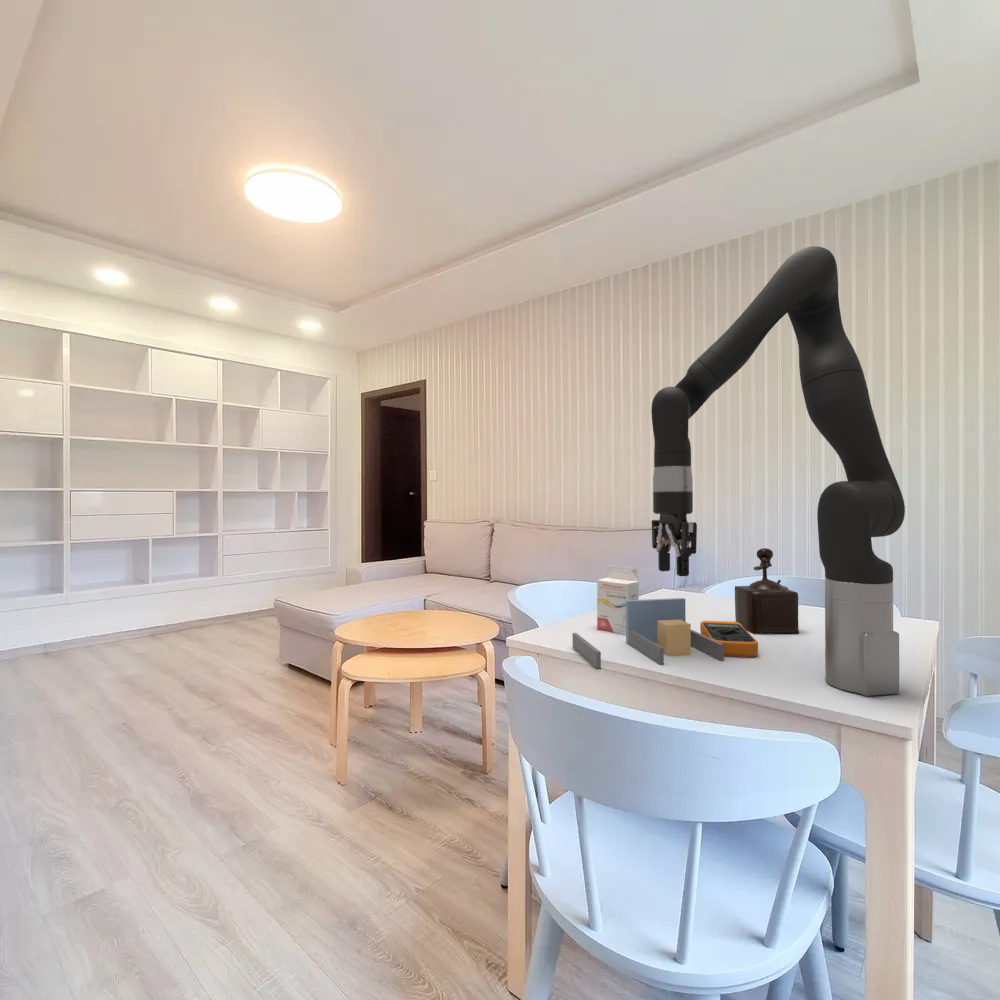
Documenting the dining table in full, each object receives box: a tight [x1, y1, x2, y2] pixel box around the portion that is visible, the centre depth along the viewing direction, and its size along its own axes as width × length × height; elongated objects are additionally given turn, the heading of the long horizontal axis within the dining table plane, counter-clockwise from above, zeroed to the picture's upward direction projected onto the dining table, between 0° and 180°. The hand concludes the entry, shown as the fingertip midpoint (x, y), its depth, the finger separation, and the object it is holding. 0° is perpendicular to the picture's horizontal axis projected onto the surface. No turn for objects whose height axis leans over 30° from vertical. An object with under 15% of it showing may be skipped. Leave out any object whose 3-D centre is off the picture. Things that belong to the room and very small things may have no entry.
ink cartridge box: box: [596, 564, 640, 636], centre depth 125 cm, size 9×5×15 cm, turn 47°
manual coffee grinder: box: [734, 547, 800, 635], centre depth 128 cm, size 16×11×18 cm
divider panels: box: [572, 597, 725, 670], centre depth 107 cm, size 15×25×9 cm, turn 100°
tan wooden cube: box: [656, 620, 692, 657], centre depth 107 cm, size 4×5×6 cm
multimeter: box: [699, 620, 759, 658], centre depth 112 cm, size 9×18×3 cm, turn 168°
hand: (673, 573), depth 107 cm, fingers open, 7 cm apart
